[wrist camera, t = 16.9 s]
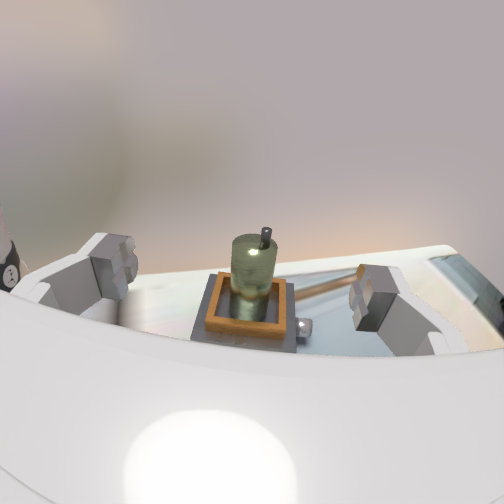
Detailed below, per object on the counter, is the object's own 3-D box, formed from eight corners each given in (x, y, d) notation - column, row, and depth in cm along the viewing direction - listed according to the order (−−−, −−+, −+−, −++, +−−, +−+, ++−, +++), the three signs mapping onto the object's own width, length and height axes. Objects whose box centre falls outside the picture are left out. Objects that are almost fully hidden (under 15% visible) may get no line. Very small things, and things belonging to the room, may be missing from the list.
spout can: (226, 319, 39) (230, 237, 32) (231, 293, 44) (236, 215, 37) (266, 324, 39) (280, 243, 32) (267, 297, 44) (280, 220, 36)
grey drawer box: (193, 362, 39) (189, 327, 35) (210, 299, 51) (210, 264, 46) (308, 375, 39) (322, 342, 34) (304, 310, 51) (313, 276, 46)
